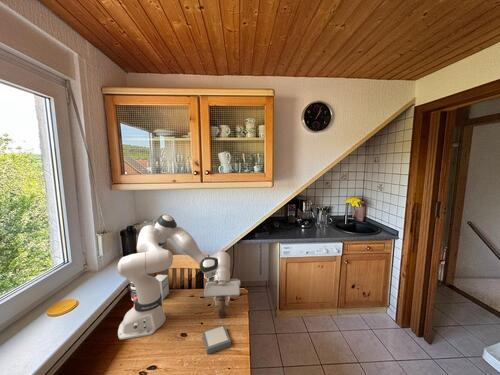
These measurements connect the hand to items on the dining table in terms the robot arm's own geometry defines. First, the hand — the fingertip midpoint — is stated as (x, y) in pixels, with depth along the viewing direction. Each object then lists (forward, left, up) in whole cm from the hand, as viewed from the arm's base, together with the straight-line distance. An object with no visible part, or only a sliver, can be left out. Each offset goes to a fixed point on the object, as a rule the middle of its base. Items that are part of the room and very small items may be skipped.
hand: (221, 305), depth 119 cm
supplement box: (-31, +34, -7) cm, 46 cm away
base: (-7, -14, -7) cm, 17 cm away
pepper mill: (0, +1, -7) cm, 7 cm away
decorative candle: (-44, +39, -7) cm, 59 cm away
